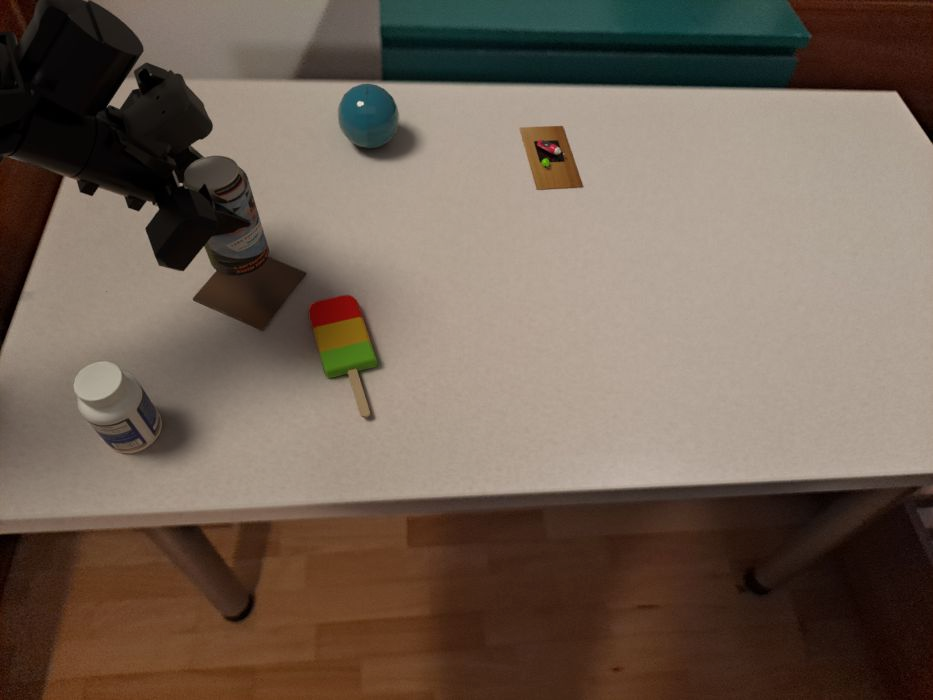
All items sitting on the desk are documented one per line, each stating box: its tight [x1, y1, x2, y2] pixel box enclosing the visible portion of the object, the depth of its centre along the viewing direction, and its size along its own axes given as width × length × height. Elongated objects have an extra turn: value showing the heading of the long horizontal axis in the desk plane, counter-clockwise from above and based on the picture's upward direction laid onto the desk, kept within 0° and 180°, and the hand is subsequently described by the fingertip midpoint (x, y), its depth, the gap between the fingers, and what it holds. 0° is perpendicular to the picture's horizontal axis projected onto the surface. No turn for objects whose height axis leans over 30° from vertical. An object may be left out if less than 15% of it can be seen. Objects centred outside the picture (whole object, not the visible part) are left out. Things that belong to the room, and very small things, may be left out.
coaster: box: [192, 256, 307, 332], centre depth 78 cm, size 9×9×1 cm
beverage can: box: [182, 155, 270, 276], centre depth 68 cm, size 6×7×12 cm
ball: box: [337, 83, 400, 149], centre depth 89 cm, size 8×8×8 cm
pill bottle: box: [73, 361, 163, 454], centre depth 63 cm, size 5×5×10 cm
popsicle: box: [308, 294, 378, 418], centre depth 73 cm, size 6×15×2 cm, turn 19°
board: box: [519, 125, 584, 191], centre depth 93 cm, size 6×12×2 cm, turn 9°
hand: (239, 204), depth 68 cm, fingers closed on beverage can, 6 cm apart
